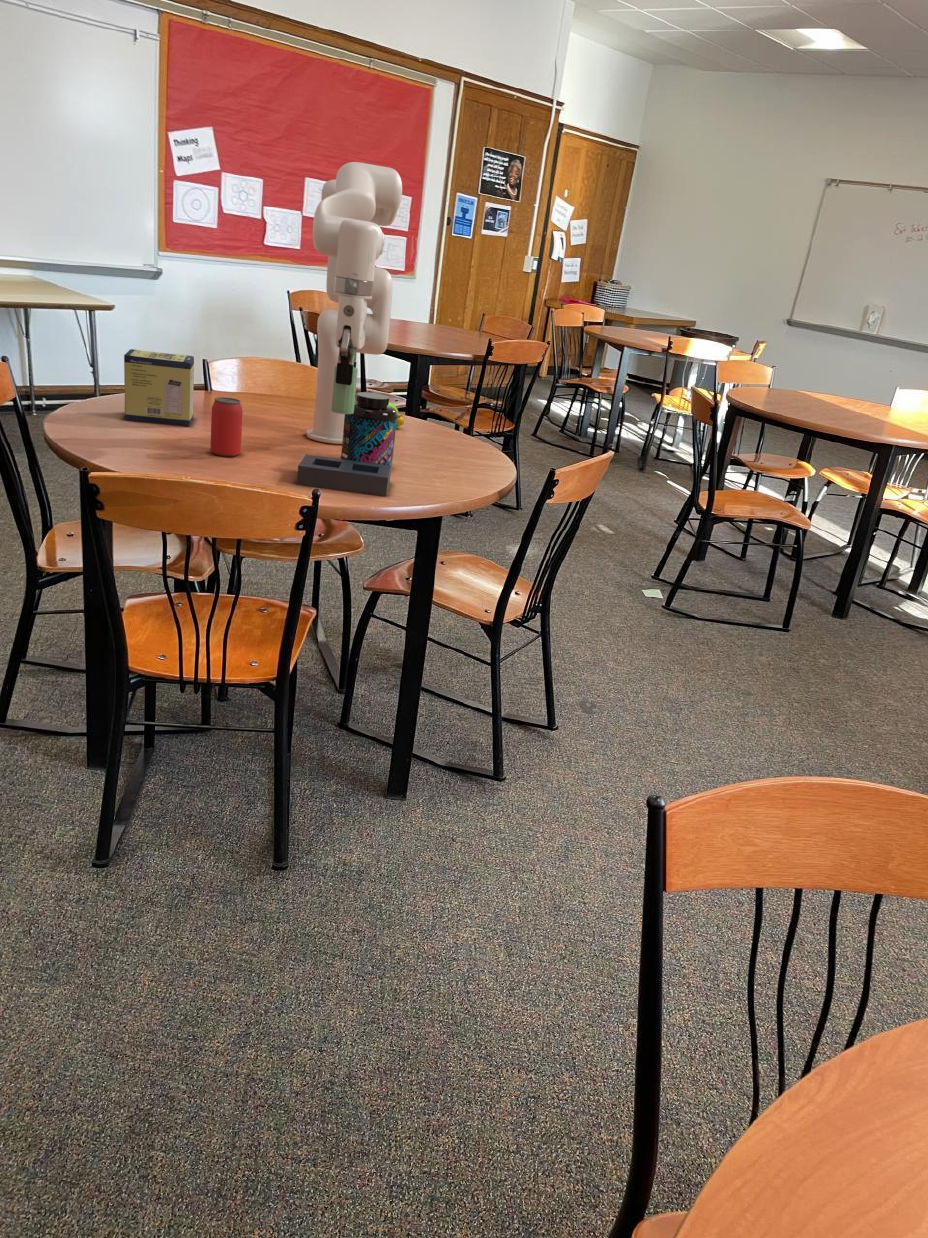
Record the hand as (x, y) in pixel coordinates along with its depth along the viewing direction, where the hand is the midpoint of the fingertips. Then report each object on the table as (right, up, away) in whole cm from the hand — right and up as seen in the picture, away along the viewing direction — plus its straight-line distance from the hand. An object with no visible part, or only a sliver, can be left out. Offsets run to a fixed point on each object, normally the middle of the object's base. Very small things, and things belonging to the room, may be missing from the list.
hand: (345, 381), depth 184 cm
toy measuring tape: (-1, +7, +72) cm, 73 cm away
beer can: (-29, -12, +17) cm, 36 cm away
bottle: (-1, -6, +2) cm, 6 cm away
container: (+1, -13, +26) cm, 29 cm away
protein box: (-51, +1, +39) cm, 64 cm away
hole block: (-1, -20, +8) cm, 21 cm away
